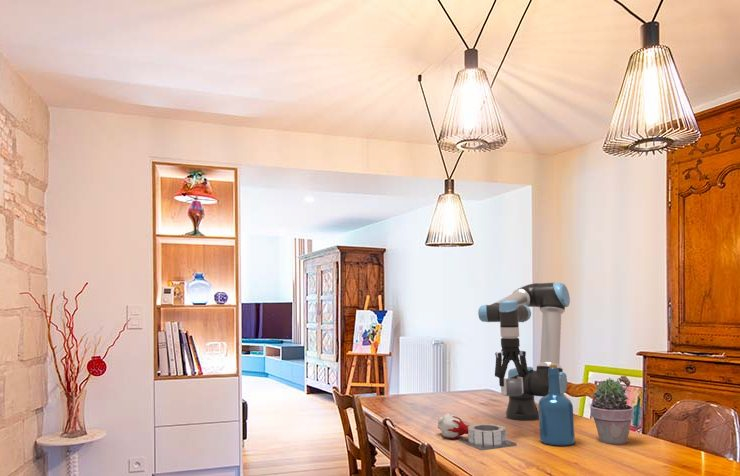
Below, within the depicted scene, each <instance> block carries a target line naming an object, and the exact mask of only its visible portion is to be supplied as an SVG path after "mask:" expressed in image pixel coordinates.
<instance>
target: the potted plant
mask: <svg viewBox="0 0 740 476" xmlns="http://www.w3.org/2000/svg"><path fill="white" fill-rule="evenodd" d="M622 383H623V384H625V386H626V388H625V387H624V386H623V384H622ZM629 386H631V381H630V379H629V378H628V377H627V376H626V375H621V376H620V377H619V378H617V379H616V380H614V379H611V378H610V376H609V378H606V380H600V382H599V383H598V384H597V385H596V389H593V392H594V393H591V394H590V396H591V395H593V396H591V397H590V399H594V400H593V401H592V403H591V404H589V406H588V407H589V408H590V409H589V410H590V415H591V417H592V418H593V420H594V424H595V426H596V430H597V431H596V432H597V435H598V437H599V441H600V442H601V443H604V444H608V445H625V444H627V443H628V440H629V435H630V434H629V433H630V429H631V421H632V420H633V419H634V407H633V406H631V405H629V404H627V403H628V400H629V397H627V395H626V394H625V393H626V391H628V392H631V393H632V391H630V390H628V387H629ZM594 390H595V391H594ZM586 407H587V406H586ZM588 407H587V408H588Z"/></svg>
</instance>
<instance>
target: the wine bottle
mask: <svg viewBox="0 0 740 476" xmlns="http://www.w3.org/2000/svg"><path fill="white" fill-rule="evenodd" d="M548 376H549V393H548V395H546V396H544V397H542V396H541V398H540V399H539V400H538V412H539V418H538V423H539V440H540V442H541V443H544V444H545V445H550V446H555V447H564V446H570V445H574V443H575V441H576V440H575V438H576V437H575V435H576V434H575V420H574V418H575V417H574V406H573V402H572V401H571V399H570V398H568V397H567V396H566V395H565V394H562V393H560V382H559V376H560V375H559V370H558V368H557V365H556V364H550V368H549V372H548Z"/></svg>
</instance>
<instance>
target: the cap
mask: <svg viewBox="0 0 740 476" xmlns="http://www.w3.org/2000/svg"><path fill="white" fill-rule="evenodd" d="M505 379H506V389H507V395H504V396H507V397H509V396H521V395H522V384H521V379H512V378H511V379H508V378H505Z"/></svg>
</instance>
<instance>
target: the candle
mask: <svg viewBox="0 0 740 476" xmlns="http://www.w3.org/2000/svg"><path fill="white" fill-rule="evenodd" d="M437 419H438V420H437V422H438V423H437V428H438V429H439V430H440V431H441V434H442V436H443V437H444V438H449V439H452V440H455V439H457V438H458V439H459V438H460V437H461V436H464V435H468V426H470V425H468V424H466V423H465V422H463V420H462V419H461V418H460V417H458V416H457V415H455V414H454V415H453V414H451V413H448V412H447V413H445V414H444V415H443V416H439V417H438V418H437Z"/></svg>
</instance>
